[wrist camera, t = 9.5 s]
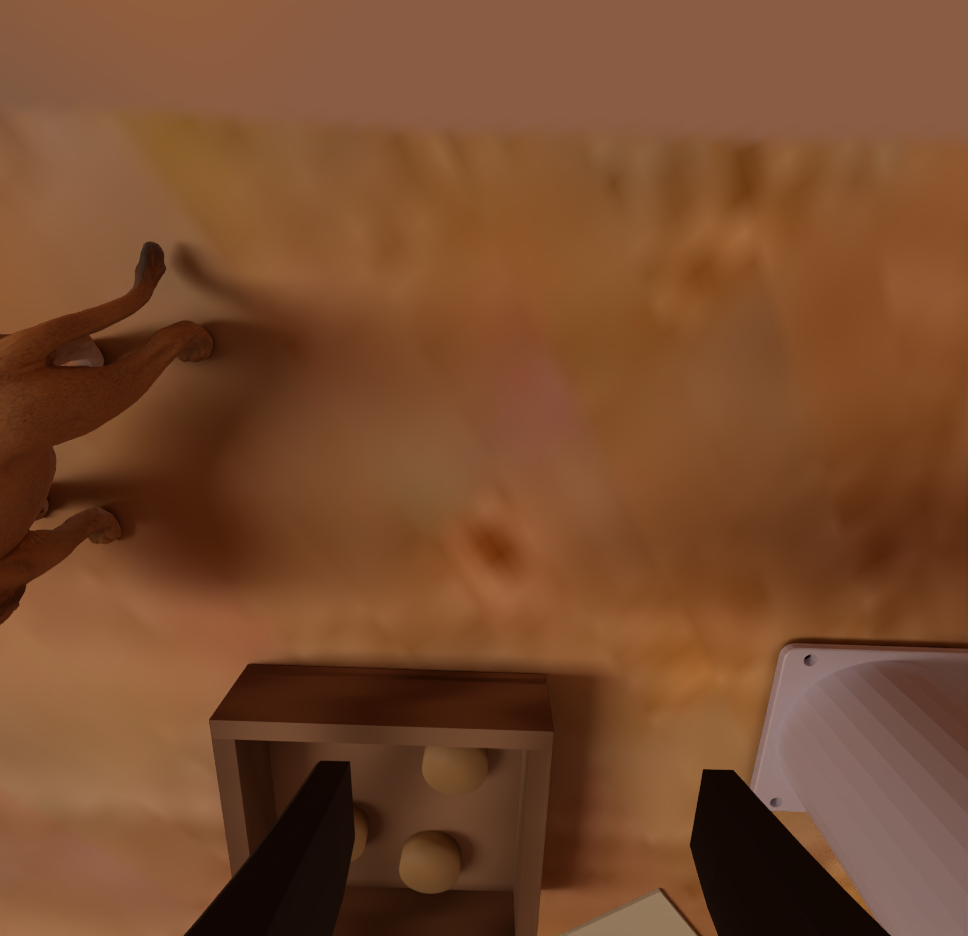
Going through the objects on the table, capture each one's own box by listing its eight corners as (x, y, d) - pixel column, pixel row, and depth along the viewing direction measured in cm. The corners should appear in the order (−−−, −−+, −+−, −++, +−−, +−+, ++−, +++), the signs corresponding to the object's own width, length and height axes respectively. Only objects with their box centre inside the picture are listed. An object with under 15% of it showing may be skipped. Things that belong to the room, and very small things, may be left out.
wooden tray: (545, 674, 21) (553, 731, 18) (529, 891, 24) (534, 969, 21) (247, 664, 21) (208, 720, 18) (273, 882, 24) (243, 958, 21)
